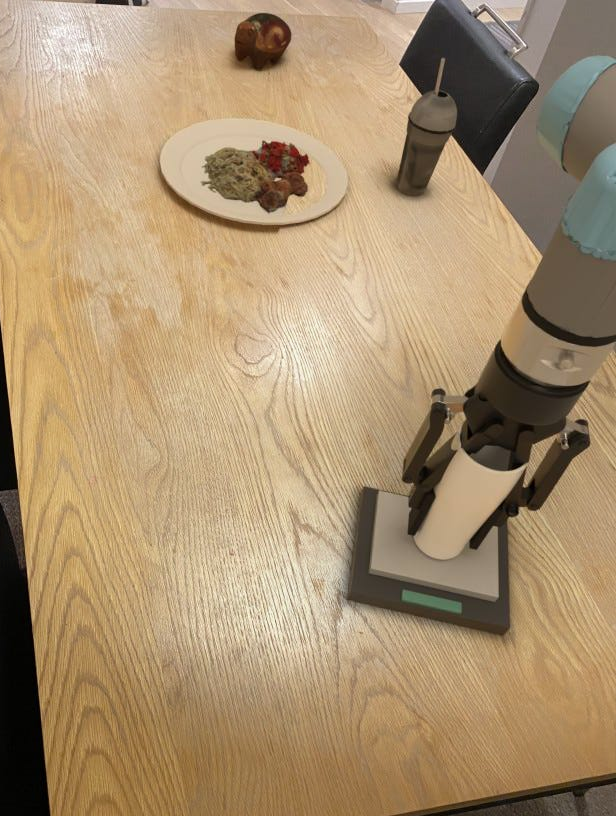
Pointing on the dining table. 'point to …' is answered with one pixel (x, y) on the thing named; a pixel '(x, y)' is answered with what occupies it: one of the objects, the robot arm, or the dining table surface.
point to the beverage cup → (425, 138)
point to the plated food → (249, 170)
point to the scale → (427, 570)
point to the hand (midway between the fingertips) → (442, 531)
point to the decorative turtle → (262, 39)
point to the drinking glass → (465, 499)
